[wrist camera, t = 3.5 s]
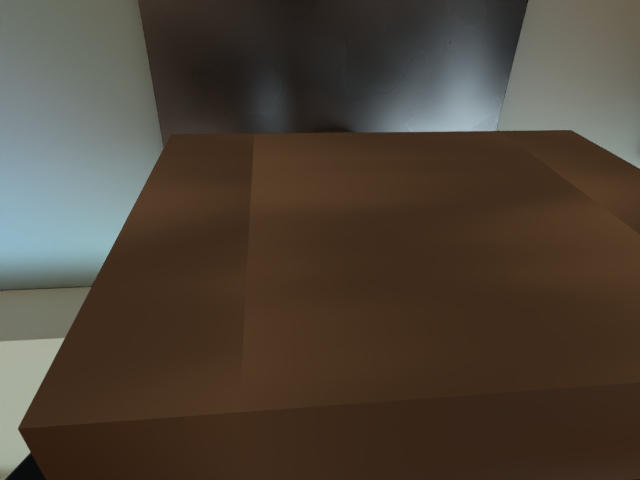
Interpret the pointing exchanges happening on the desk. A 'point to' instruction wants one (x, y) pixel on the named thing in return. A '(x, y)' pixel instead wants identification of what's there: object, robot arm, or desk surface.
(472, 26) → the grey post on plate
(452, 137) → the wooden shaft bracket
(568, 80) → the desk surface
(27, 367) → the tray
